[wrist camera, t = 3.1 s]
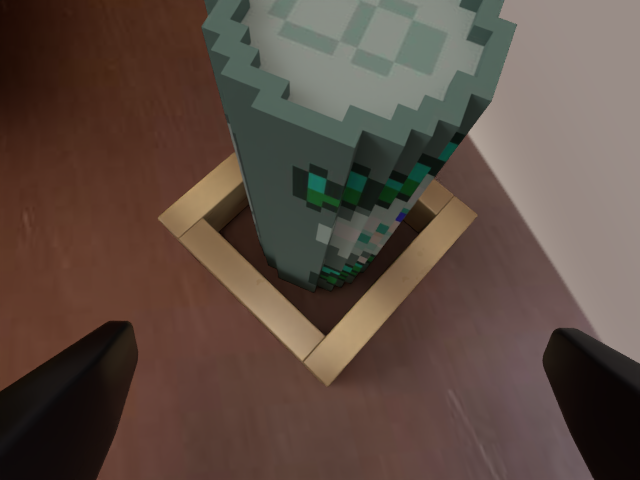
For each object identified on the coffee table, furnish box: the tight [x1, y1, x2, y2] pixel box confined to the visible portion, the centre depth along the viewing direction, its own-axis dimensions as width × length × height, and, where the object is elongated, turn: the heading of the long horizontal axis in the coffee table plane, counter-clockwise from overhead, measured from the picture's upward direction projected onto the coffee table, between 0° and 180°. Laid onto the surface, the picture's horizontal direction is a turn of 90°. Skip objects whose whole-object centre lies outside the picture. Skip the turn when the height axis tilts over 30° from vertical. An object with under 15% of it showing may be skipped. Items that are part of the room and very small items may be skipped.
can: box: [202, 0, 517, 292], centre depth 15 cm, size 6×6×15 cm
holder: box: [158, 152, 478, 387], centre depth 21 cm, size 11×11×3 cm
